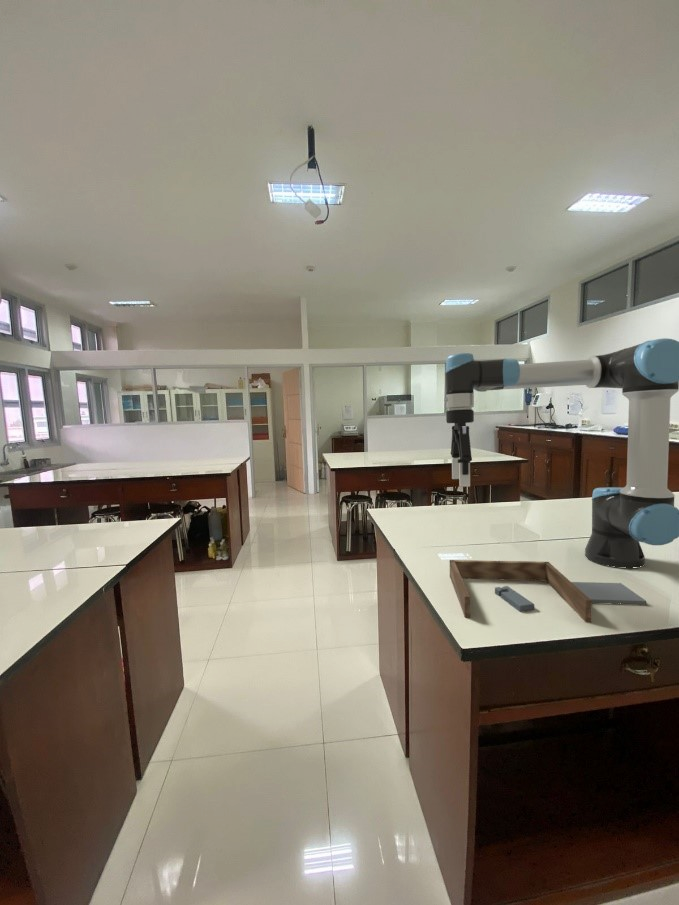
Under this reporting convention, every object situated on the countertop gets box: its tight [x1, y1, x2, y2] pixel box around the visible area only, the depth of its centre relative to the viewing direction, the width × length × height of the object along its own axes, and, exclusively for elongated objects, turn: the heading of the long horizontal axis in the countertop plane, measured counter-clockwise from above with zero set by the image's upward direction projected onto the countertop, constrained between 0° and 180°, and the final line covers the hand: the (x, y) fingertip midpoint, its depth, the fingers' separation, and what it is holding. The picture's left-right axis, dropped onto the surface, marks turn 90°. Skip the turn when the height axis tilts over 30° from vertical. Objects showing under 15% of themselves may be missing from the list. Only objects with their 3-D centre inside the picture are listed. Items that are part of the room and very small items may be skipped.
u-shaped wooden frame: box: [449, 559, 593, 623], centre depth 95 cm, size 27×23×5 cm
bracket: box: [494, 585, 535, 613], centre depth 93 cm, size 4×10×2 cm, turn 10°
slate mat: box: [571, 581, 647, 605], centre depth 94 cm, size 14×10×1 cm
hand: (460, 482), depth 108 cm, fingers open, 13 cm apart
